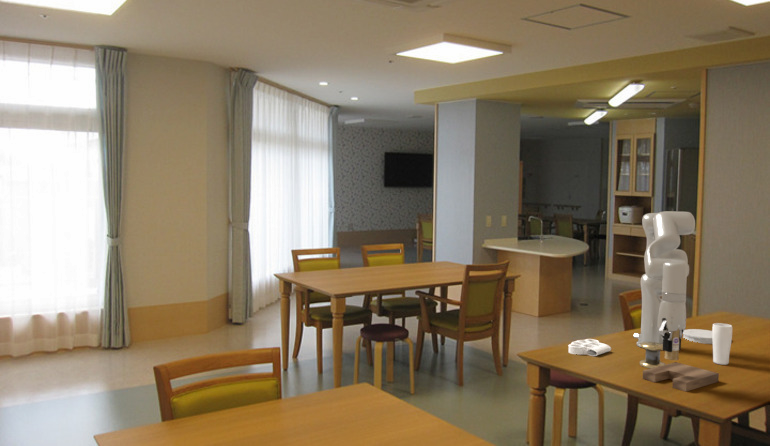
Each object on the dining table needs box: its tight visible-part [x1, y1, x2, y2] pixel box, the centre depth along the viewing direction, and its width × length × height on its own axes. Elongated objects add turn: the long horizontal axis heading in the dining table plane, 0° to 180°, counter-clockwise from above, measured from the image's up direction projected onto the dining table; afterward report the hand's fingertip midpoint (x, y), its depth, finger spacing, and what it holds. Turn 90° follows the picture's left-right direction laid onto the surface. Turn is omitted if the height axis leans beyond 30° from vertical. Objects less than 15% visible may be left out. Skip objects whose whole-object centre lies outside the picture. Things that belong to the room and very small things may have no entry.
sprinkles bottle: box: [664, 325, 680, 361], centre depth 212 cm, size 5×5×13 cm
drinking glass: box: [711, 322, 733, 366], centre depth 237 cm, size 7×7×15 cm
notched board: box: [642, 361, 720, 392], centre depth 216 cm, size 16×20×3 cm
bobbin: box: [639, 342, 666, 369], centre depth 233 cm, size 9×9×8 cm
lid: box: [682, 328, 713, 345], centre depth 276 cm, size 17×20×3 cm
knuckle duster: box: [567, 338, 612, 357], centre depth 254 cm, size 3×18×15 cm
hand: (671, 349), depth 212 cm, fingers closed on sprinkles bottle, 4 cm apart
